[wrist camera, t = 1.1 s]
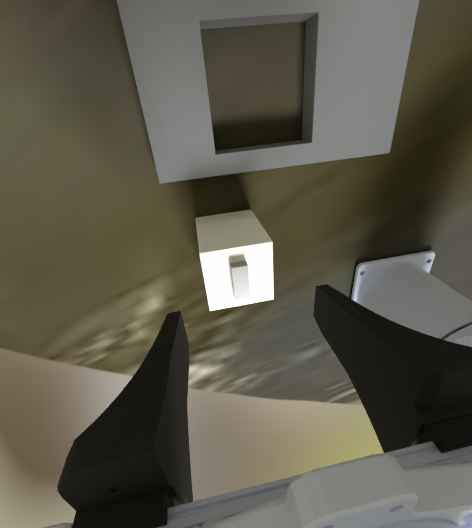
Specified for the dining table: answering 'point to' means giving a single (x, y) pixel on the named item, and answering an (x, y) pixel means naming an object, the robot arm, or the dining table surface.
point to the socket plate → (314, 89)
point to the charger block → (235, 259)
